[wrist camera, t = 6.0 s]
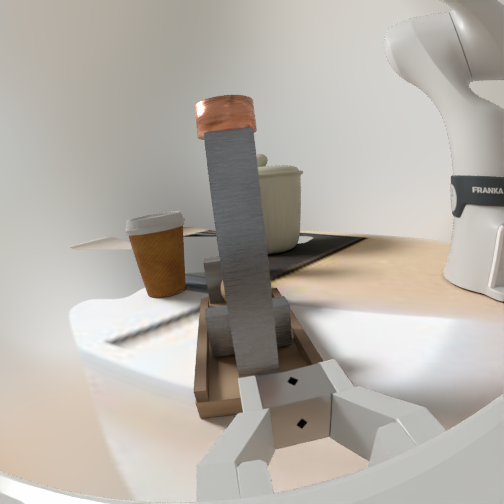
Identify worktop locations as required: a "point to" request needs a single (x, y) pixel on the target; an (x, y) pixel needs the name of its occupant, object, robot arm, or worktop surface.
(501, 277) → the robot arm
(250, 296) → the slider
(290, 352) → the cracker bench
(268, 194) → the canister
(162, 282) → the disposable coffee cup
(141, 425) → the worktop surface
